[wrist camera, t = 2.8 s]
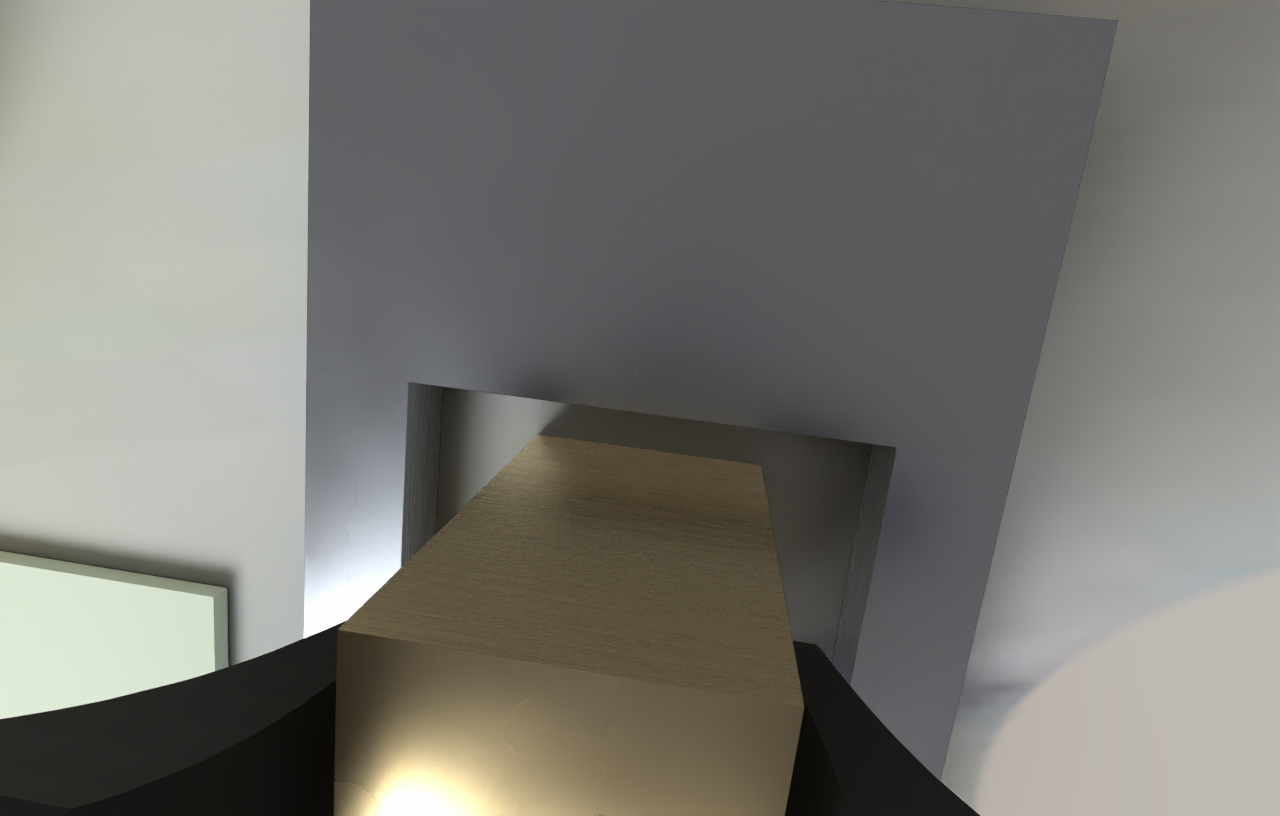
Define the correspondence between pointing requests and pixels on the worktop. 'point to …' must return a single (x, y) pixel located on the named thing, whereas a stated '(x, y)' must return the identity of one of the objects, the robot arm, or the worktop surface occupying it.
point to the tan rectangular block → (578, 649)
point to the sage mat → (100, 633)
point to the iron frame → (697, 265)
